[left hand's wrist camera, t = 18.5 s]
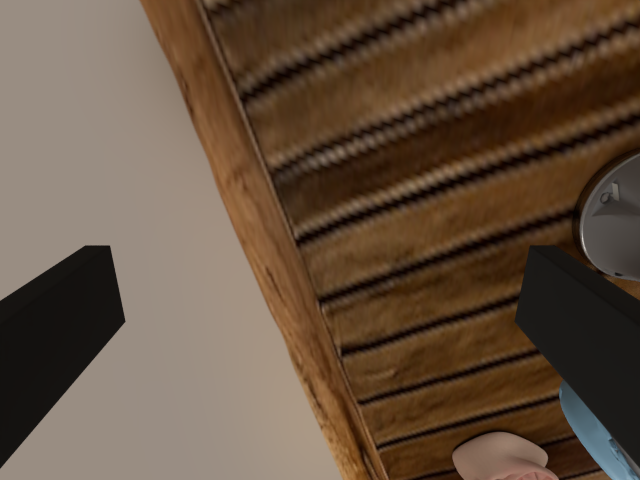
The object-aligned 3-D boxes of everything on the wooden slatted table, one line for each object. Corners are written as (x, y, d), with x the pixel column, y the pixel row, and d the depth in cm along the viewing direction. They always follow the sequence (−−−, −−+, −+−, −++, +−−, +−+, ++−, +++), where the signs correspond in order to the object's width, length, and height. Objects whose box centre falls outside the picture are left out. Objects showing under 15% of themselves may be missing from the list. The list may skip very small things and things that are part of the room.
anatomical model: (446, 487, 55) (509, 438, 51) (438, 462, 58) (496, 415, 55) (510, 527, 57) (573, 484, 54) (498, 501, 61) (557, 459, 58)
